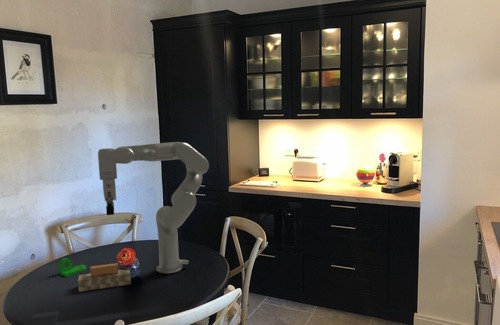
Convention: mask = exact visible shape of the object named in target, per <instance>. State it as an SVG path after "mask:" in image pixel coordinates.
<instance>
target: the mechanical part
mask: <svg viewBox="0 0 500 325" xmlns="http://www.w3.org/2000/svg"><path fill="white" fill-rule="evenodd" d="M65 263H66V265H65ZM87 268H88V267H87V266H86V265H85V264H80V265H77V266H73V262H72V259H70V258H67V257H65V258H64V257H63V258H61V259H60V261H59V263H58V270H59V275H61V276H63V277H65V278H67V277H71V276H73V275H76V274H78V273H82V272H84V271H86V270H87Z"/></svg>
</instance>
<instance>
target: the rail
mask: <svg viewBox="0 0 500 325" xmlns="http://www.w3.org/2000/svg"><path fill="white" fill-rule="evenodd" d="M123 269H124V268H123ZM123 269H118V273H116V274H115V275H112V273H111V274H104V275H98V277H93V276H91V273H86V274H79V275H78V279H77V282H78V292H85V291H93V290H100V289H107V288H114V287H120V286H127V285H128V286H129V285H132V281H131V280H132V277H131V269H130V270H123Z"/></svg>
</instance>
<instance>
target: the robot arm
mask: <svg viewBox="0 0 500 325" xmlns="http://www.w3.org/2000/svg"><path fill="white" fill-rule="evenodd" d="M97 156H98V157H97V158H98V171H99V172H98V173H99V174H98V175H99V180H101V181H102V189H103V190H102V191H103V196H104V202H105V203H106V206H105V209H106V215H107V216H113V215H115V203H114V201H117V191H116V190H117V189H116V187H117V186H116V180H117V179H118V174H117V172H118V171H117V164H121V165H122V164H123V165H126V164H127V165H128V164H130V163H132V162H137V161H138V162H140V161H144V162H163V161H173V160H180V161H181V162H182V163H183V164H185V168H186V169H185V170H186V174H185V178H184V180H182V183H181V184H180V185H179V186H178V187H177V189H176V190H175V191H174V192H173V194H172V195H171V199H170V200H171V203H172V204H171V205H172V206H169V205H165V206H161V207H160V208H159V209H158V210H157V211H156V214H155V221H156V227H157V240H158V261H159V265H158V266H156V272H157V273H160V274H172V273H173V274H174V273H177V272H180V271H181V270H182V269H183V265H189V260H188V259H181V258H180V255H179V239H178V238H179V237H178V236H179V234H178V229H179V228H180V227H181V226H182V225H183V224H184V223H185V221H186V220H187V219H188V218H189V216H190V215H191V213H192V212H193V211H194V209H195V208H196V206H197V197H196V193H197V192H198V191H199V189H200V188H201V185H202V182H203V175H204V174H206V173H207V172H208V170H209V168H210V164H209V160H208V159H207V158H206V157H205V156H203V155H202V154H201V153H200V152H198V150H196V149H195V148H194V147H192V146H191V144H189V143H187V142H181V141H172V142H161V143H160V142H159V143H148V144H138V145H126V146H125V145H124V146H119V147H117V148H111V147H110V148H100V149H99V150H98V151H97Z"/></svg>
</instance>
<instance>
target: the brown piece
mask: <svg viewBox="0 0 500 325" xmlns="http://www.w3.org/2000/svg"><path fill="white" fill-rule="evenodd" d="M118 264H119V263H118V262H116V263H109V264H100V265H99V264H98V265H93V266H92V265H91V266H90V269H89V270H90V274H91V276H93V277H98V275H104V274H111V273H112V275H115V274H116V273H118V270H119V265H118Z"/></svg>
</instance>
